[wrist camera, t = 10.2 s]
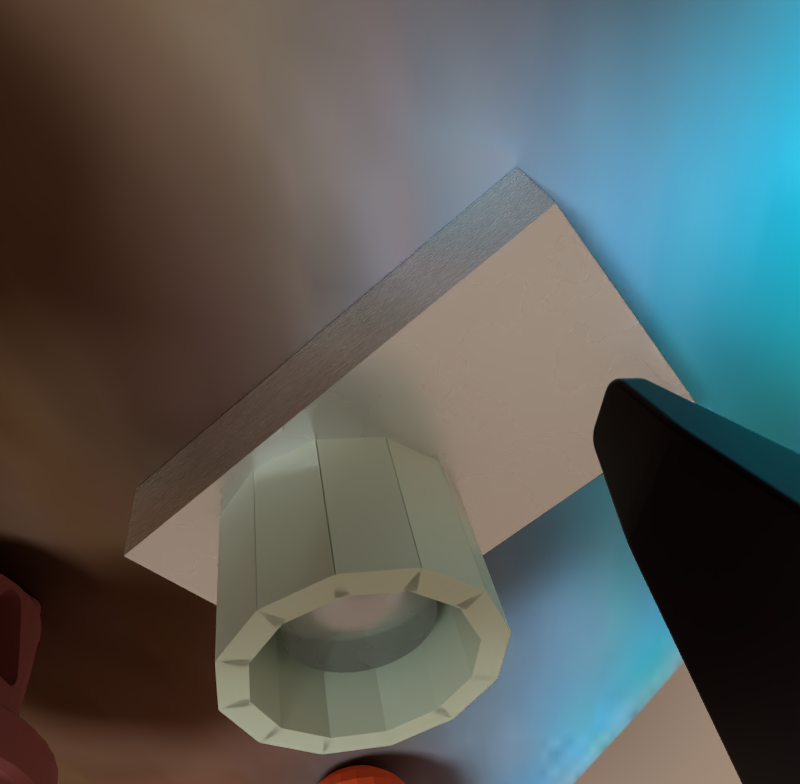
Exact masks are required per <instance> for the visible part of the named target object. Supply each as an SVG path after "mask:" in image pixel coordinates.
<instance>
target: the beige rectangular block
mask: <svg viewBox="0 0 800 784" xmlns="http://www.w3.org/2000/svg"><path fill="white" fill-rule="evenodd" d="M618 378H643V379H646V380H648V381H651V382H653V383H655V384H657V385H659V386H661V387H663V388H665V389H667V390H669V391H671V392H673V393H675V394H677V395H679V396H681V397H683V398H685V399H687V400H689V401H691V402H693V403H695V401H694V400H693V398H692V397H691V395H690V394H689V393H688V391H687V390H686V388H685V387H684V385H683V384H682V383H681V381H680V380H679V378H678V377H677V375H676V374H675V373H674V371H673V370H672V368H671V367H670V366H669V364H668V363H667V361H666V360H665V358H664V357H663V356H662V354H661V353H660V351H659V350H658V348H657V347H656V346H655V344H654V343H653V341H652V340H651V338H650V337H649V336H648V334H647V333H646V331H645V330H644V328H643V327H642V326H641V324H640V323H639V321H638V320H637V319H636V317H635V316H634V314H633V313H632V311H631V310H630V309H629V307H628V306H627V304H626V303H625V301H624V300H623V299H622V297H621V296H620V294H619V293H618V291H617V290H616V289H615V287H614V286H613V284H612V283H611V281H610V280H609V279H608V277H607V276H606V274H605V273H604V272H603V270H602V269H601V267H600V266H599V264H598V263H597V262H596V260H595V259H594V257H593V256H592V254H591V253H590V252H589V250H588V249H587V247H586V246H585V244H584V243H583V242H582V240H581V239H580V237H579V236H578V234H577V233H576V232H575V230H574V229H573V227H572V226H571V225H570V223H569V222H568V220H567V219H566V217H565V216H564V215H563V213H562V212H561V210H560V209H559V207H558V206H557V205H556V203H555V202H554V201H553V200H552V199H551V198H549V197H548V196H547V195H546V194H545V193H544V192H543V191H542V190H541V189H540V188H539V187H538V186H537V185H536V184H535V183H534V182H533V181H532V180H530V179H529V178H528V177H527V176H526V175H525V174H524V173H523V172H522V171H521V170H520V169H519V168H518V167H516V168H515V169H513V170H512V171H511V172H510V173H509V174H507V175H506V176H505V177H504V178H503V179H502V180H500V181H499V182H498V183H497V184H496V185H494V186H493V187H492V188H491V189H490V190H489V191H487V192H486V193H485V194H484V195H483V196H481V197H480V198H479V199H478V200H477V201H476V202H474V203H473V204H472V205H471V206H470V207H468V208H467V209H466V210H465V211H464V212H463V213H461V214H460V215H459V216H458V217H457V218H455V219H454V220H453V221H452V222H451V223H450V224H448V225H447V226H446V227H445V228H444V229H442V230H441V231H440V232H439V233H438V234H437V235H435V236H434V237H433V238H432V239H431V240H429V241H428V242H427V243H426V244H425V245H424V246H422V247H421V248H420V249H419V250H418V251H416V252H415V253H414V254H413V255H412V256H411V257H409V258H408V259H407V260H406V261H405V262H403V263H402V264H401V265H400V266H399V267H398V268H396V269H395V270H394V271H393V272H392V273H390V274H389V275H388V276H387V277H386V278H385V279H383V280H382V281H381V282H380V283H379V284H377V285H376V286H375V287H374V288H373V289H372V290H370V291H369V292H368V293H367V294H366V295H364V296H363V297H362V298H361V299H360V300H359V301H357V302H356V303H355V304H354V305H353V306H351V307H350V308H349V309H348V310H347V311H346V312H344V313H343V314H342V315H341V316H340V317H338V318H337V319H336V320H335V321H334V322H333V323H331V324H330V325H329V326H328V327H327V328H325V329H324V330H323V331H322V332H321V333H320V334H318V335H317V336H316V337H315V338H314V339H312V340H311V341H310V342H309V343H308V344H307V345H305V346H304V347H303V348H302V349H301V350H299V351H298V352H297V353H296V354H295V355H294V356H292V357H291V358H290V359H289V360H288V361H286V362H285V363H284V364H283V365H282V366H281V367H279V368H278V369H277V370H276V371H275V372H273V373H272V374H271V375H270V376H269V377H268V378H266V379H265V380H264V381H263V382H262V383H260V384H259V385H258V386H257V387H256V388H255V389H253V390H252V391H251V392H250V393H249V394H247V395H246V396H245V397H244V398H243V399H242V400H240V401H239V402H238V403H237V404H236V405H234V406H233V407H232V408H231V409H230V410H229V411H227V412H226V413H225V414H224V415H223V416H221V417H220V418H219V419H218V420H217V421H216V422H214V423H213V424H212V425H211V426H210V427H208V428H207V429H206V430H205V431H204V432H203V433H201V434H200V435H199V436H198V437H197V438H195V439H194V440H193V441H192V442H191V443H190V444H188V445H187V446H186V447H185V448H184V449H182V450H181V451H180V452H179V453H178V454H177V455H175V456H174V457H173V458H172V459H171V460H169V461H168V462H167V463H166V464H165V465H164V466H162V467H161V468H160V469H159V470H158V471H156V472H155V473H154V474H153V475H152V476H151V477H149V478H148V479H147V480H146V481H145V482H143V483H142V484H141V485H140V486H139V487H138V488H136V490H135V495H134V501H133V507H132V512H131V518H130V524H129V529H128V535H127V541H126V546H125V552H124V556H125V557H126V558H128V559H130V560H132V561H134V562H136V563H138V564H140V565H141V566H143V567H145V568H147V569H149V570H151V571H153V572H155V573H157V574H158V575H160V576H162V577H164V578H166V579H168V580H170V581H172V582H173V583H175V584H177V585H179V586H181V587H183V588H185V589H187V590H189V591H190V592H192V593H194V594H196V595H198V596H200V597H202V598H204V599H205V600H207V601H209V602H211V603H213V604H215V605H217V579H218V547H219V516H220V515H221V513H222V512H223V510H224V509H225V508H226V506H227V505H228V503H229V502H230V501H231V499H232V498H233V497H234V495H235V494H236V492H237V491H238V490H239V488H240V487H241V486H242V484H243V483H244V481H245V480H246V479H247V477H248V476H249V475H250V473H251V472H252V470H254V469H255V468H257V467H259V466H261V465H263V464H265V463H267V462H270V461H272V460H274V459H276V458H278V457H280V456H282V455H284V454H286V453H288V452H290V451H292V450H295V449H297V448H299V447H301V446H303V445H305V444H307V443H309V442H311V441H313V440H316V439H337V438H366V437H385V438H386V437H387V438H390V439H392V440H394V441H396V442H398V443H401V444H403V445H405V446H407V447H409V448H412V449H414V450H416V451H418V452H420V453H423V454H425V455H427V456H429V457H431V458H434V459H436V460H438V461H439V462H440V463H441V465H442V466H443V468H444V470H445V472H446V473H447V475H448V477H449V479H450V481H451V482H452V484H453V486H454V488H455V489H456V491H457V493H458V495H459V496H460V498H461V500H462V502H463V504H464V507H465V510H466V512H467V515H468V518H469V520H470V523H471V526H472V528H473V531H474V534H475V536H476V539H477V542H478V544H479V547H480V550H481V552H482V555H484V554H485V553H487V552H488V551H490V550H491V549H493V548H494V547H496V546H497V545H499V544H500V543H501V542H503V541H504V540H506V539H507V538H509V537H510V536H512V535H513V534H515V533H516V532H517V531H519V530H520V529H522V528H523V527H525V526H526V525H528V524H529V523H531V522H532V521H533V520H535V519H536V518H538V517H539V516H541V515H542V514H544V513H545V512H547V511H548V510H549V509H551V508H552V507H554V506H555V505H557V504H558V503H560V502H561V501H563V500H564V499H565V498H567V497H568V496H570V495H571V494H573V493H574V492H576V491H577V490H579V489H580V488H581V487H583V486H584V485H586V484H587V483H589V482H590V481H592V480H593V479H594V478H596V477H597V476H599V475H600V474H602V473H603V472H602V469H601V466H600V463H599V460H598V457H597V454H596V452H595V448H594V444H593V431H594V426H595V423H596V420H597V417H598V414H599V410H600V407H601V404H602V401H603V398H604V395H605V391H606V389H607V386H608V385H609V383H610V382H611V381H613V380H614V379H618ZM437 611H438V610H437V603H436V600H434V599H431V598H428V597H425V596H422V595H419V594H416V593H413V592H410V591H406V592H394V593H382V594H370V595H358V596H346V597H341V598H339V599H337V600H334V601H332V602H330V603H328V604H326V605H323V606H321V607H319V608H317V609H315V610H312V611H310V612H308V613H306V614H304V615H301V616H299V617H297V618H295V619H293V620H290V621H288V622H286V623H284V624H282V625H281V638H282V641H283V644H284V646H285V648H286V650H287V651H288V652H289V653H290V655H291V656H292V657H294V658H295V659H296V660H297V661H299V662H301V663H302V664H304V665H307V666H309V667H311V668H314V669H318V670H322V671H327V672H337V673H348V672H359V671H366V670H370V669H374V668H378V667H381V666H384V665H387V664H389V663H392V662H394V661H396V660H398V659H400V658H402V657H404V656H405V655H407V654H409V653H410V652H411V651H413V650H414V649H416V648H417V647H418V646H419V645H420V644H421V643H422V642H423V641H424V640H425V639H426V638H427V637H428V635H429V634H430V632H431V631H432V629H433V627H434V625H435V622H436V619H437Z"/></svg>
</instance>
